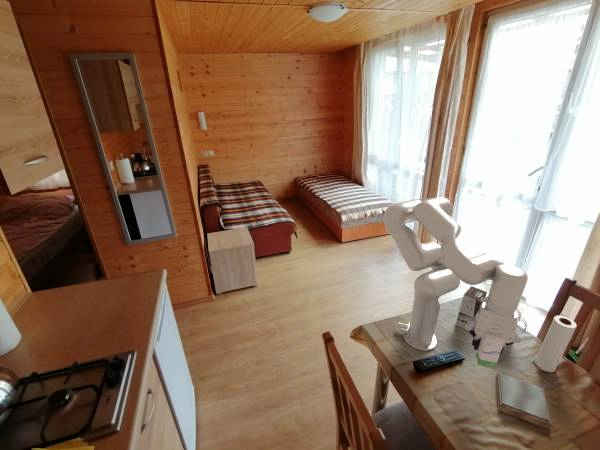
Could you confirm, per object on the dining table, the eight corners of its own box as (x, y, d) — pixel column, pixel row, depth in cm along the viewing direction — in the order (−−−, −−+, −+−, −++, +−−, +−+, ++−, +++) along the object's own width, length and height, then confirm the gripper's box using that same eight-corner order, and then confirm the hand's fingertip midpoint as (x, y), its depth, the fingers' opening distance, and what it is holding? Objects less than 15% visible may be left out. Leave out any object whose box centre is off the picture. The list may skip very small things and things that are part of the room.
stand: (498, 409, 95) (500, 403, 94) (495, 377, 105) (498, 371, 104) (548, 429, 89) (552, 423, 88) (540, 393, 100) (543, 387, 98)
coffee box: (470, 332, 125) (480, 301, 118) (455, 324, 129) (463, 294, 122) (478, 321, 130) (488, 291, 124) (463, 314, 135) (471, 285, 128)
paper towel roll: (549, 375, 106) (571, 329, 97) (531, 362, 111) (550, 318, 102) (560, 367, 109) (582, 322, 100) (541, 355, 114) (561, 311, 105)
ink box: (495, 369, 92) (506, 341, 87) (477, 365, 93) (487, 337, 88) (488, 348, 99) (498, 321, 94) (472, 344, 101) (480, 318, 96)
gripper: (468, 305, 88) (456, 349, 95) (539, 322, 81) (519, 368, 89) (467, 290, 94) (455, 333, 102) (533, 305, 87) (515, 350, 95)
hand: (485, 349), depth 95 cm, fingers closed on ink box, 5 cm apart
